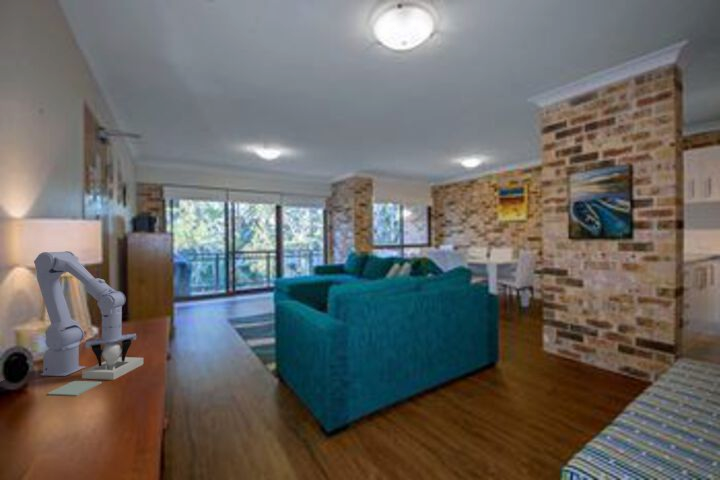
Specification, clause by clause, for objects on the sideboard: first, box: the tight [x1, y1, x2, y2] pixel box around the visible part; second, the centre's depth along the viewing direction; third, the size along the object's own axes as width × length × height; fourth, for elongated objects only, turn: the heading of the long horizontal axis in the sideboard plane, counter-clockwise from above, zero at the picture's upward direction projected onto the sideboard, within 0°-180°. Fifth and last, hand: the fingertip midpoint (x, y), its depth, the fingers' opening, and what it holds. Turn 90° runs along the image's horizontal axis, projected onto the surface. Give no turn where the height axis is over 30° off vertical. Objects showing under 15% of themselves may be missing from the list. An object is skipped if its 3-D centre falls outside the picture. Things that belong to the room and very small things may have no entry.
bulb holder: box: [81, 356, 144, 381], centre depth 119 cm, size 12×14×2 cm
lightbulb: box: [101, 342, 123, 370], centre depth 118 cm, size 6×6×11 cm
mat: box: [46, 380, 103, 397], centre depth 105 cm, size 10×9×1 cm
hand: (111, 363), depth 118 cm, fingers closed on lightbulb, 6 cm apart
